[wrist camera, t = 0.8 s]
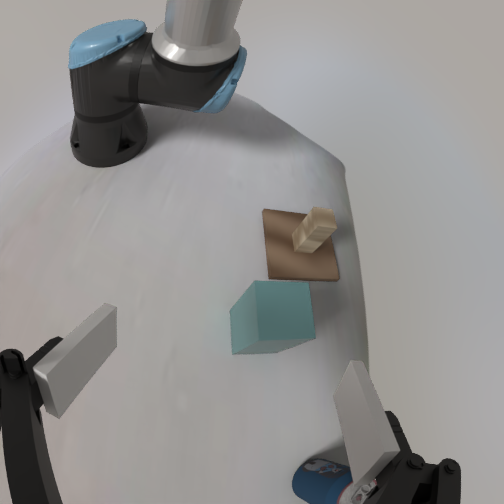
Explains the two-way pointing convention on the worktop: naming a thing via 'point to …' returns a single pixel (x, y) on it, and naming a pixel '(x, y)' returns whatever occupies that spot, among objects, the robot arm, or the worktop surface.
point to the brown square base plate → (300, 245)
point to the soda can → (328, 484)
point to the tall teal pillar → (272, 318)
